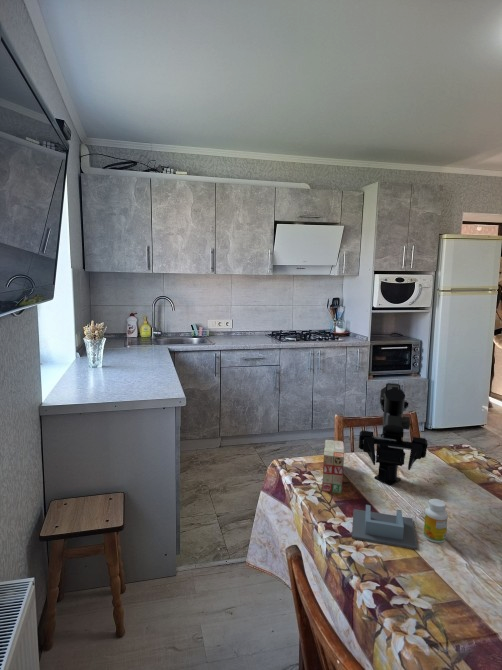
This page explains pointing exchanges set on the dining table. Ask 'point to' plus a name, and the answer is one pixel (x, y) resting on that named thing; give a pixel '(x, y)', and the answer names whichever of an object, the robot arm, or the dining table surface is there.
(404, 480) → the dining table surface
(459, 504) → the dining table surface
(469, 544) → the dining table surface
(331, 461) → the stack of blocks
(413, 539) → the notch holder
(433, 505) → the supplement bottle
